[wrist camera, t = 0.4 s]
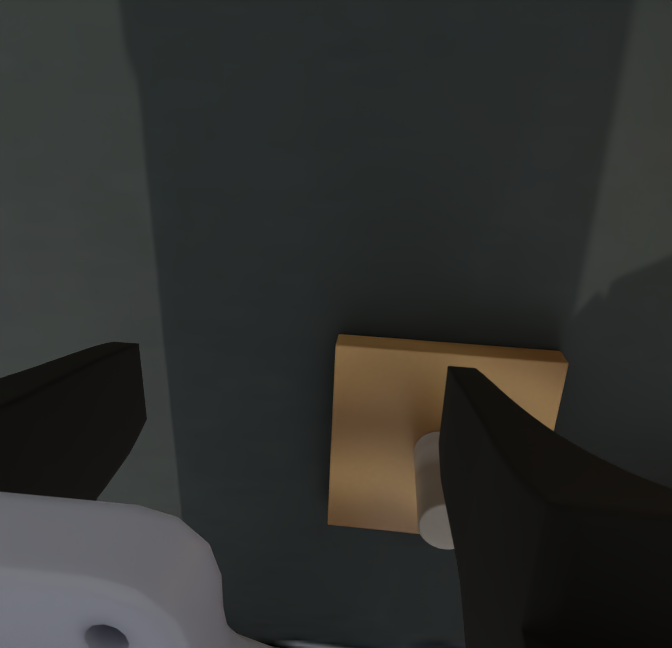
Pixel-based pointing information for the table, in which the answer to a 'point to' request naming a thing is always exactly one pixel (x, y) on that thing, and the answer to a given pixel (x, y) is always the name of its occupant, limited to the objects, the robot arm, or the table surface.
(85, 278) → the table surface
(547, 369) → the rack
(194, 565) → the robot arm
